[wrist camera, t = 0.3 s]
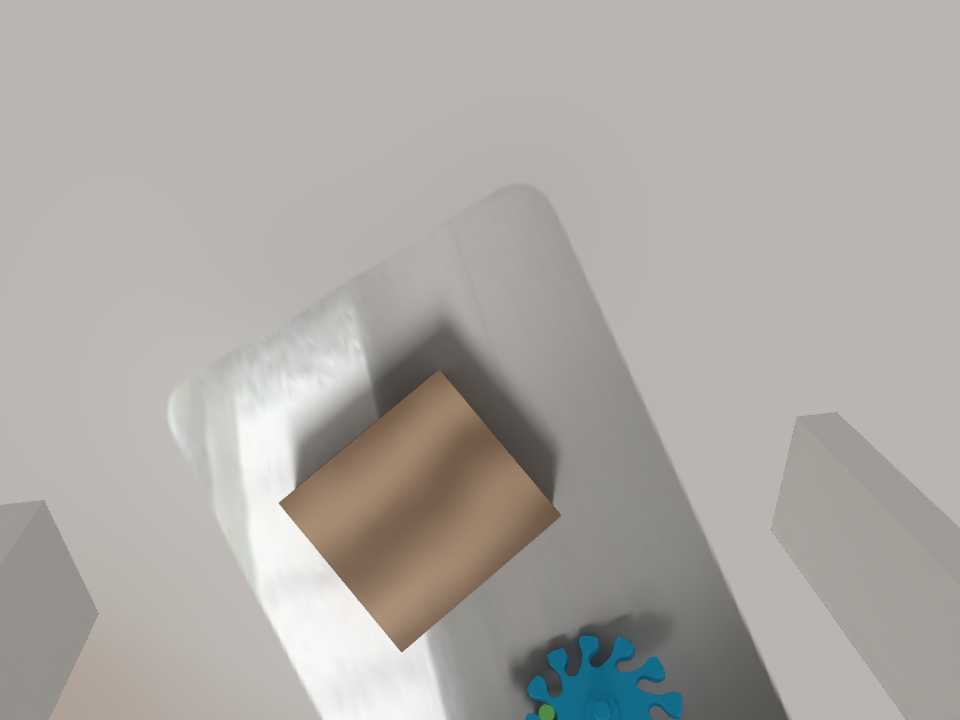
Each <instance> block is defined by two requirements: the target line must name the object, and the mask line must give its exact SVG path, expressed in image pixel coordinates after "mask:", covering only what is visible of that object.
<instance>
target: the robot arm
mask: <svg viewBox="0 0 960 720" xmlns="http://www.w3.org/2000/svg"><path fill="white" fill-rule="evenodd" d="M771 530H772V531H773V533H774V534H775V536H776V537H777V538H778V540H779V541H780V543H781V544H782V546H783V547H784V548H785V550H786V551H787V553H788V554H789V555H790V557H791V558H792V560H793V561H794V562H795V564H796V565H797V567H798V568H799V569H800V571H801V572H802V573H803V575H804V576H805V578H806V579H807V580H808V582H809V584H810V585H811V586H812V588H813V589H814V590H815V592H816V593H817V595H818V596H819V598H820V599H821V600H822V602H823V603H824V605H825V606H826V607H827V609H828V610H829V612H830V613H831V614H832V616H833V617H834V619H835V620H836V621H837V623H838V624H839V626H840V627H841V629H842V630H843V631H844V633H845V634H846V636H847V637H848V638H849V640H850V641H851V643H852V644H853V645H854V647H855V648H856V649H857V651H858V652H859V654H860V655H861V657H862V658H863V659H864V661H865V662H866V664H867V665H868V666H869V668H870V669H871V671H872V672H873V674H874V675H875V676H876V678H877V679H878V681H879V682H880V683H881V685H882V686H883V688H884V689H885V690H886V692H887V693H888V694H889V696H890V697H891V699H892V700H893V702H894V703H895V704H896V706H897V707H898V709H899V710H900V711H901V713H902V714H903V716H904V717H905V719H906V720H960V528H959V527H958V526H957V525H956V524H955V523H954V522H953V521H952V520H950V518H948V516H946V515H945V514H944V513H943V512H942V511H941V510H940V509H939V508H938V507H936V505H935V504H934V503H933V502H932V501H930V500H929V499H928V498H927V497H926V496H925V495H924V494H923V493H922V492H921V491H920V490H919V489H918V488H917V487H916V486H914V485H913V484H912V483H911V482H910V481H909V480H908V479H907V478H906V477H905V476H903V474H902V473H901V472H900V471H898V470H897V469H896V468H895V467H894V466H893V465H892V464H891V463H890V462H889V461H888V460H887V459H886V458H885V457H883V456H882V455H881V454H880V453H879V452H878V451H877V450H876V449H875V448H874V447H873V446H872V445H871V444H870V443H869V442H867V441H866V440H865V439H864V438H863V437H862V436H861V435H860V434H859V433H858V432H857V431H856V430H855V429H854V428H853V427H852V426H850V425H849V424H848V423H847V422H846V421H845V420H844V419H843V418H842V417H841V416H840V415H839V414H838V413H828V414H819V415H809V416H800V417H797V418H796V422H795V427H794V431H793V436H792V440H791V445H790V449H789V453H788V458H787V463H786V467H785V471H784V475H783V480H782V484H781V489H780V493H779V498H778V502H777V506H776V511H775V515H774V519H773V524H772V529H771ZM98 614H99V613H98V611H97V609H96V607H95V605H94V603H93V600H92V598H91V596H90V594H89V592H88V590H87V588H86V586H85V584H84V582H83V580H82V578H81V576H80V573H79V571H78V569H77V567H76V565H75V563H74V561H73V559H72V557H71V555H70V553H69V551H68V549H67V547H66V545H65V542H64V541H63V538H62V536H61V534H60V532H59V530H58V528H57V526H56V524H55V522H54V520H53V518H52V516H51V513H50V511H49V510H48V507H47V505H46V503H45V501H44V500H43V501H33V502H24V503H15V504H6V505H0V720H49V718H50V716H51V714H52V712H53V710H54V707H55V705H56V703H57V701H58V699H59V697H60V695H61V692H62V690H63V688H64V686H65V684H66V682H67V680H68V678H69V676H70V673H71V671H72V669H73V667H74V665H75V663H76V661H77V658H78V657H79V654H80V652H81V650H82V648H83V646H84V643H85V642H86V640H87V637H88V635H89V633H90V631H91V629H92V627H93V625H94V623H95V620H96V618H97V616H98Z"/></svg>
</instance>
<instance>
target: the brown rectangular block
mask: <svg viewBox="0 0 960 720" xmlns="http://www.w3.org/2000/svg"><path fill="white" fill-rule="evenodd" d="M279 504H280V505H281V507H282V508H283V509H284V510H285V511H286V513H287V514H288V515H289V516H290V518H291V519H292V520H293V521H294V522H295V524H296V525H297V526H298V527H299V528H300V530H301V531H302V532H303V533H304V535H305V536H306V537H307V538H308V539H309V541H310V542H311V543H312V544H313V545H314V547H315V548H316V549H317V550H318V552H319V553H320V554H321V555H322V556H323V558H324V559H325V560H326V561H327V562H328V564H329V565H330V566H331V567H332V569H333V570H334V571H335V572H336V573H337V575H338V576H339V577H340V578H341V579H342V581H343V582H344V583H345V584H346V586H347V587H348V588H349V589H350V590H351V592H352V593H353V594H354V595H355V596H356V598H357V599H358V600H359V601H360V603H361V604H362V605H363V606H364V607H365V609H366V610H367V611H368V612H369V613H370V615H371V616H372V617H373V618H374V620H375V621H376V622H377V623H378V624H379V626H380V627H381V628H382V629H383V630H384V632H385V633H386V634H387V635H388V637H389V638H390V639H391V640H392V641H393V643H394V644H395V645H396V646H397V647H398V649H399V650H400V651H401V652H403V651H404V650H405V649H406V648H408V647H409V646H410V645H411V644H412V643H413V642H415V641H416V640H417V639H418V638H419V637H420V636H422V635H423V634H424V633H425V632H426V631H427V630H429V629H430V628H431V627H432V626H433V625H434V624H436V623H437V622H438V621H439V620H440V619H441V618H443V617H444V616H445V615H446V614H447V613H448V612H450V611H451V610H452V609H453V608H454V607H455V606H457V605H458V604H459V603H460V602H461V601H462V600H464V599H465V598H466V597H467V596H468V595H469V594H471V593H472V592H473V591H474V590H475V589H476V588H478V587H479V586H480V585H481V584H482V583H483V582H485V581H486V580H487V579H488V578H489V577H490V576H492V575H493V574H494V573H495V572H496V571H497V570H499V569H500V568H501V567H502V566H503V565H504V564H506V563H507V562H508V561H509V560H510V559H511V558H513V557H514V556H515V555H516V554H517V553H518V552H520V551H521V550H522V549H523V548H524V547H525V546H527V545H528V544H529V543H530V542H531V541H532V540H534V539H535V538H536V537H537V536H538V535H539V534H541V533H542V532H543V531H544V530H545V529H546V528H548V527H549V526H550V525H551V524H552V523H553V522H555V521H556V520H557V519H558V518H559V517H560V516H561V515H560V513H559V512H558V511H557V510H556V508H555V507H554V506H553V504H552V503H551V502H550V501H549V500H548V498H547V497H546V496H545V495H544V494H543V493H542V491H541V490H540V489H539V488H538V487H537V485H536V484H535V483H534V482H533V481H532V479H531V478H530V477H529V476H528V475H527V473H526V472H525V471H524V470H523V469H522V467H521V466H520V465H519V464H518V463H517V461H516V460H515V459H514V458H513V457H512V455H511V454H510V453H509V452H508V451H507V449H506V448H505V447H504V446H503V445H502V443H501V442H500V441H499V440H498V439H497V437H496V436H495V435H494V434H493V433H492V431H491V430H490V429H489V428H488V427H487V425H486V424H485V423H484V422H483V421H482V419H481V418H480V417H479V416H478V415H477V413H476V412H475V411H474V410H473V409H472V407H471V406H470V405H469V404H468V403H467V401H466V400H465V399H464V398H463V397H462V395H461V394H460V393H459V392H458V391H457V389H456V388H455V387H454V386H453V385H452V383H451V382H450V381H449V380H448V379H447V377H446V376H445V375H444V374H443V373H442V371H441V370H438V371H437V372H435V373H434V374H433V375H432V376H431V377H429V378H428V379H427V380H426V381H425V382H423V383H422V384H421V385H420V386H419V387H417V388H416V389H415V390H414V391H413V392H411V393H410V394H409V395H408V396H407V397H405V398H404V399H403V400H402V401H401V402H399V403H398V404H397V405H396V406H395V407H393V408H392V409H391V410H390V411H389V412H387V413H386V414H385V415H384V416H383V417H381V418H380V419H379V420H378V421H377V422H375V423H374V424H373V425H372V426H371V427H369V428H368V429H367V430H366V431H365V432H363V433H362V434H361V435H360V436H359V437H357V438H356V439H355V440H354V441H353V442H351V443H350V444H349V445H348V446H347V447H345V448H344V449H343V450H342V451H341V452H339V453H338V454H337V455H336V456H334V457H333V458H332V459H331V460H330V461H328V462H327V463H326V464H325V465H324V466H322V467H321V468H320V469H319V470H318V471H316V472H315V473H314V474H313V475H312V476H310V477H309V478H308V479H307V480H306V481H304V482H303V483H302V484H301V485H300V486H298V487H297V488H296V489H295V490H294V491H292V492H291V493H290V494H289V495H288V496H286V497H285V498H284V499H283V500H282V501H280V502H279Z"/></svg>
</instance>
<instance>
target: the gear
mask: <svg viewBox="0 0 960 720" xmlns="http://www.w3.org/2000/svg"><path fill="white" fill-rule="evenodd" d="M579 645H580V648H581V651H582V664H581V667H580V670H579V672H578V674H577V675H576V676H568V675H567V674H566V669H567V666H568V657H567V654H566V651H565V650H564V649H563V648H561V649H557V650H554V651H552V652H551V653H549V654H548V656H547V657H548V661H549V664H550V666H551V668H552V669H553V670H555V671H556V672H557V674H558V675H559V676H560V678H561V682H562V689H563V690H562V693H561V695H560V696H559V697H555V698H554V697H551V696H550V695H549V693H548V687H547V685H546V682H545V680H544V679H543V678H542V677H540V676H536V677H535V678H534V679H533V680H532V681H531V682H530V684H529V686H528V688H527V691H528V693H529V695H530V697H531V698H532V699H533V700H535V701H540V702H543V703H545V704H547V705H543V706H542V707H541V708H540V709H539V717H540V718H539V717H538V716H537V715H536V714H532V713H531V714H527V716H526V719H525V720H653V719H652V718H651V716H650V715H649V710H650V709H651V708H652V707H654V706H658V707H661V708H662V709H663V710H664V711H665V712H666V714H667V715H668V716H669V717H671V718H673V719H680V718H681V716H682V696H681V694H679V693H677V692H670V693H668V694H664V695H653V694H649V693H647V692H644V691H642V690H640V689H639V688H638V686H637V684H638V682H639V681H640V680H642V679H647V680H650V681H652V682H655V683H659V682H662V681H663V680H664V679H665V672H664V668H663V666H662V664H661V662H660V661H659V659H658V658H657V657H651V658H649V659H648V660H647V661H646V663H645V664H644V665H643V666H642V667H640V668H639V669H637V670H635V671H631V672H626V673H621V672H619V671H617V669H616V665H617V664H618V663H619V662H622V661H627V660H630V659H632V658H633V656H634V654H635V648H634V646H633V644H632V643H631V642H629V641H628V640H626V639H625V638H623V637H621V636H620V637H618V638H617V639H616V640H615V643H614V649H613V653H612V655H611V656H610V658H609V659H608V660H607V661H606V662H605V663H604V664H603V665H602V666H600V667H597V668H596V667H593V666H591V665H590V661H591V659H592V658H593V657H594V656H595V655H597V654H598V652H599V650H600V645H599V641H598V638H597V637H594V636H587V635H585V636H581V637H580V639H579ZM555 713H556V714H555ZM556 715H557V716H556Z"/></svg>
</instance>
